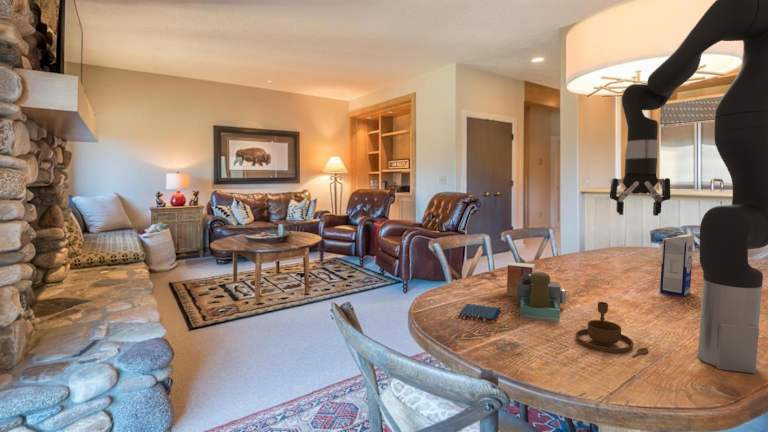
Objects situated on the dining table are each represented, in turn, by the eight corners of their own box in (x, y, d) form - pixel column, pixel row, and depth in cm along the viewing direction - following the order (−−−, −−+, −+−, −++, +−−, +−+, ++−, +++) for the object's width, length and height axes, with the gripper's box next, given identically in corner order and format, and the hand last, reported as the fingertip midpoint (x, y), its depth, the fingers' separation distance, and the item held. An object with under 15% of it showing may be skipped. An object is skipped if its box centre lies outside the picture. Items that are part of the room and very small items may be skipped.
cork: (552, 315, 109) (554, 276, 108) (529, 313, 111) (530, 275, 110) (548, 307, 115) (549, 270, 114) (526, 306, 117) (527, 269, 115)
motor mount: (570, 323, 106) (571, 289, 105) (516, 318, 110) (517, 285, 110) (563, 304, 122) (564, 274, 121) (517, 300, 126) (517, 271, 125)
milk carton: (684, 296, 128) (688, 235, 126) (659, 292, 133) (663, 233, 131) (690, 292, 133) (694, 233, 131) (666, 288, 138) (669, 231, 136)
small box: (506, 296, 131) (506, 264, 130) (509, 291, 136) (510, 261, 135) (531, 299, 127) (532, 267, 126) (534, 294, 132) (535, 263, 131)
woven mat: (465, 308, 121) (465, 302, 120) (501, 313, 116) (501, 306, 116) (457, 320, 111) (457, 313, 111) (495, 325, 107) (496, 318, 107)
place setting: (554, 338, 98) (554, 315, 98) (597, 321, 109) (598, 300, 109) (629, 365, 84) (630, 338, 83) (670, 343, 95) (672, 319, 94)
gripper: (615, 157, 110) (612, 215, 111) (676, 156, 105) (672, 217, 107) (609, 158, 117) (607, 213, 118) (666, 157, 112) (663, 214, 114)
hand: (638, 215), depth 112 cm, fingers open, 8 cm apart
